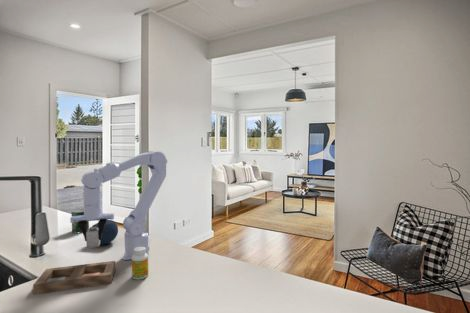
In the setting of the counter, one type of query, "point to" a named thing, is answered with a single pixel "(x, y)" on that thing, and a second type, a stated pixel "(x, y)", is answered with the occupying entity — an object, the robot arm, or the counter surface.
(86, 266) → the socket board
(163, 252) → the counter surface
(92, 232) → the plug
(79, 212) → the canned tomato
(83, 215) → the robot arm
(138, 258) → the supplement bottle
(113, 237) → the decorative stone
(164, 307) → the counter surface
